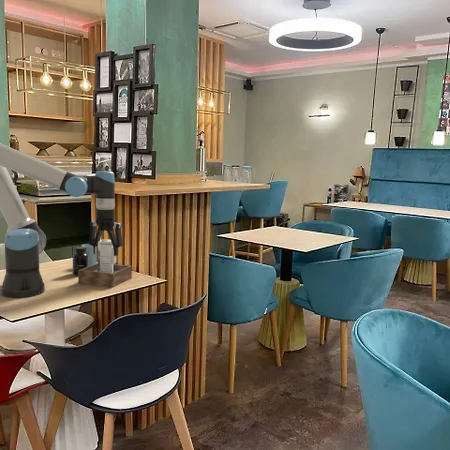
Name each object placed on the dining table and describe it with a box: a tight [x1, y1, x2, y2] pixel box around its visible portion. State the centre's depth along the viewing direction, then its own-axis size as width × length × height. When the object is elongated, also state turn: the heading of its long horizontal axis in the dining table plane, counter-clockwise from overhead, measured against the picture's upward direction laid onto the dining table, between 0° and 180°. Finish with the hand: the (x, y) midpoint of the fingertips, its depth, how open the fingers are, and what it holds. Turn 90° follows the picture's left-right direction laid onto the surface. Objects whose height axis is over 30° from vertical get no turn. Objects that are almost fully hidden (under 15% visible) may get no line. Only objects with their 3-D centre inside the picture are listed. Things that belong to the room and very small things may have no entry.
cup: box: [81, 243, 98, 266], centre depth 215 cm, size 8×8×10 cm
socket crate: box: [77, 262, 133, 288], centre depth 191 cm, size 16×16×6 cm
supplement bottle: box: [72, 246, 89, 276], centre depth 200 cm, size 7×7×12 cm
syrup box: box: [97, 238, 113, 273], centre depth 190 cm, size 6×6×14 cm
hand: (105, 262), depth 190 cm, fingers closed on syrup box, 7 cm apart
